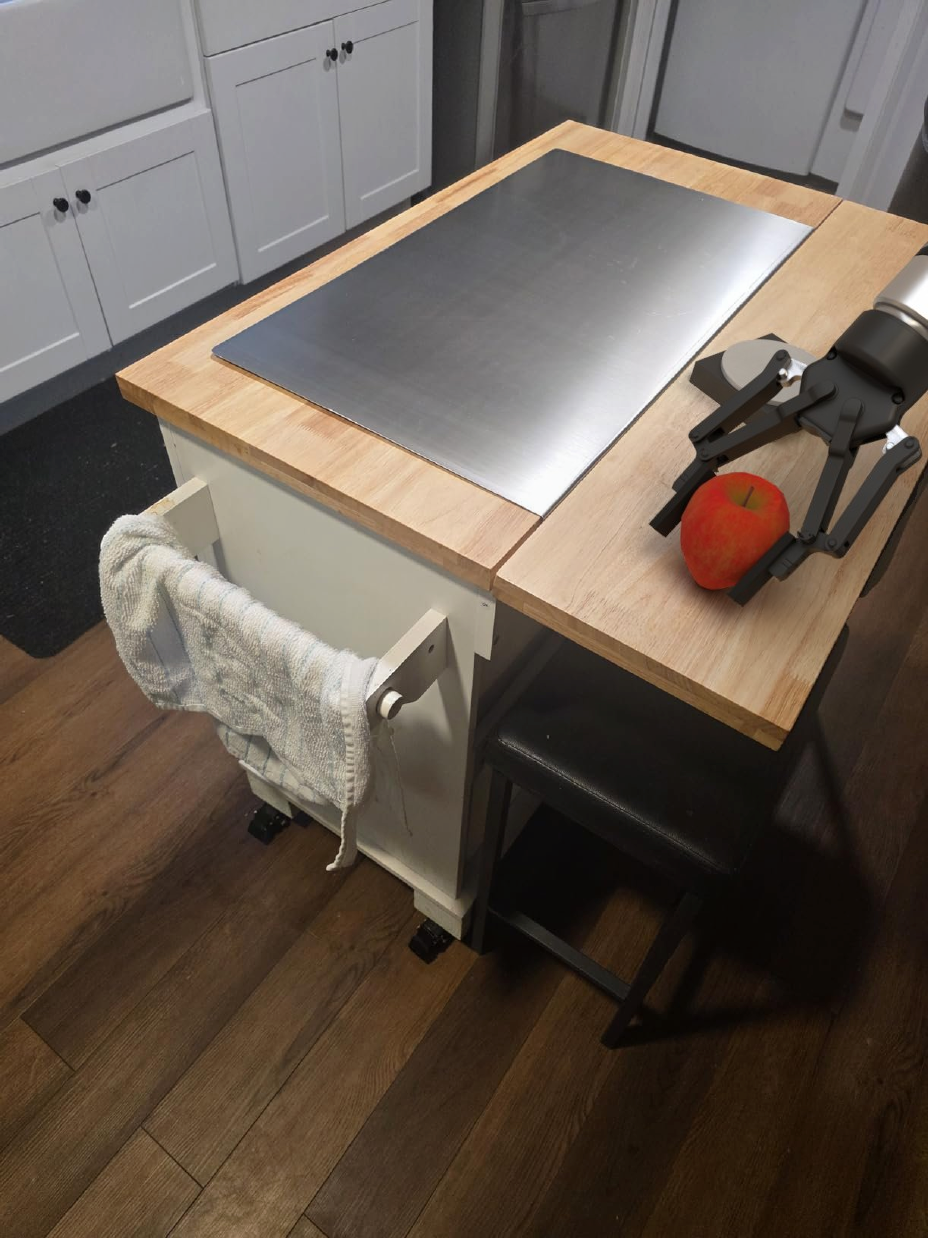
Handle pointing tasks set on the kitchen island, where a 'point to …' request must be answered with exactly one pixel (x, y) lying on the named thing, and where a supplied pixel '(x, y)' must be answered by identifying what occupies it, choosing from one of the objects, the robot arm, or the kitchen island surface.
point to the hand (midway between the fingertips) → (694, 564)
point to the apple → (731, 527)
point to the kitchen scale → (745, 370)
